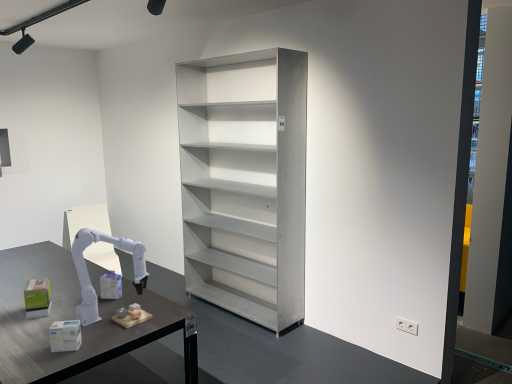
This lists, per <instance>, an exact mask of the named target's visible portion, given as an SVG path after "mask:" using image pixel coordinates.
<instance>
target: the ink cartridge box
mask: <svg viewBox="0 0 512 384" xmlns="http://www.w3.org/2000/svg"><path fill="white" fill-rule="evenodd" d="M115 273H116V270H108V272H107V273H104V274H102V275H101V276H100V277H99V280H100V299H105V300H107V299H109V300H119V299H120V298H122V297H123V288H122V286H123V285H122V274H115Z"/></svg>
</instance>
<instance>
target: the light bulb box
mask: <svg viewBox="0 0 512 384" xmlns="http://www.w3.org/2000/svg"><path fill="white" fill-rule="evenodd" d="M48 329H49V341H50V342H49V343H50V352H51V353H59V352H73V351H78V350H79V349H80V347H81V345H82V332H81V331H82V327H81V325H80V320H76V319H73V320H63V321H62V320H60V321H56V320H55V321H53V323H52V324H51V325H50V327H49V328H48Z"/></svg>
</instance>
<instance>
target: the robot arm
mask: <svg viewBox="0 0 512 384" xmlns="http://www.w3.org/2000/svg"><path fill="white" fill-rule="evenodd" d="M99 242H103V243H107V244H111V245H116V247H117V249H120V250H122V251H127V252H129V253H132V261H133V262H132V263H133V272H134V274H133V275H134V276H133V277H134V280H133V281H132V286H133V287H134V288H135V291H136V294H137V295H138V296H142V295H143V293H144V289H147V285H148V278H149V275H150V273H149V272H147V265H146V263H147V262H146V255H145V252H146V249H147V248H146V246H145V245H144V244H143V243H142V242H141V241H140V240H136V239H134V240H133V239H130V238H128V236H121V237H115V236H112V235H110V234H106V233H104V232H101V231H98V230H95V229H89V228H86V227H84V228H80V229H78V231H77V232H76V234H75V235H74V238H73V241H72V245H71V248H70V252H71V256H72V260H73V262H74V267H75V270H76V274H77V277H78V281H79V283H80V288H81V290H80V295H81V297H82V300H81V301H80V304H79V305H77V306H76V307H75V320H80V326H82V327H86V326H89V325H91V324H94V323H97V322H99V321H102V320H103V318H102V317H100V316H99V307H98V306H99V303H98V295H97V293H96V290H95V288H94V287H93V286H92V282H91V278H90V275H89V272H88V268H87V264H86V261H85V256H84V254H83V253H84V251H85V250H86V248H88V247H89V246H91V245H92V244H93V243H94V244H96V243H99Z"/></svg>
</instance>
